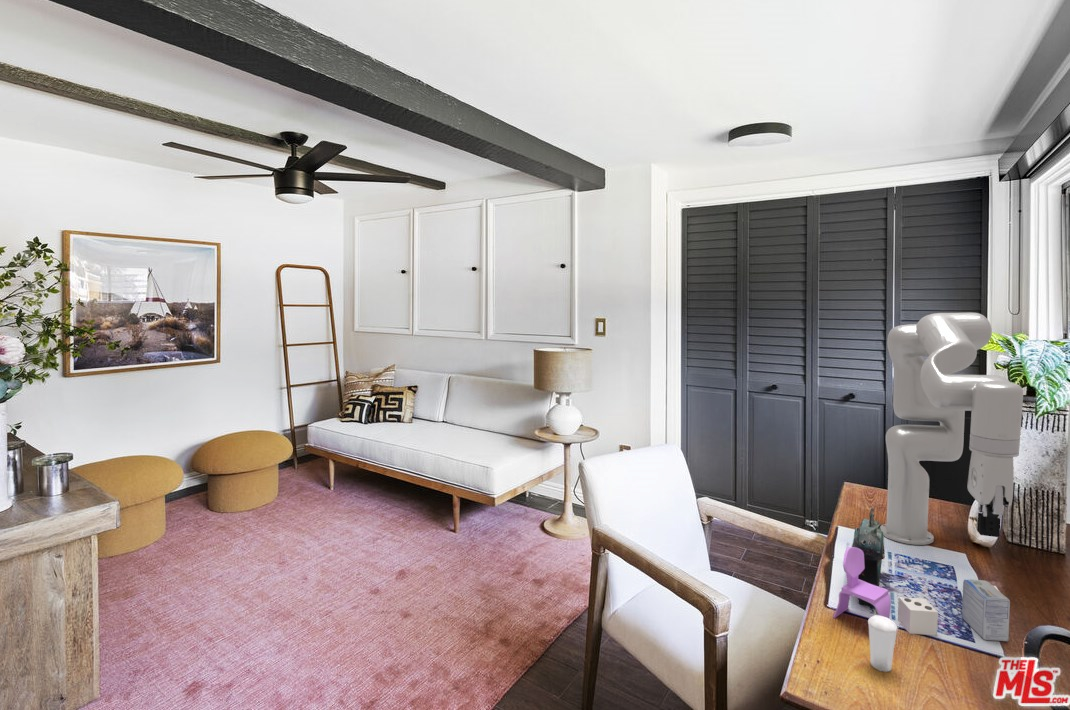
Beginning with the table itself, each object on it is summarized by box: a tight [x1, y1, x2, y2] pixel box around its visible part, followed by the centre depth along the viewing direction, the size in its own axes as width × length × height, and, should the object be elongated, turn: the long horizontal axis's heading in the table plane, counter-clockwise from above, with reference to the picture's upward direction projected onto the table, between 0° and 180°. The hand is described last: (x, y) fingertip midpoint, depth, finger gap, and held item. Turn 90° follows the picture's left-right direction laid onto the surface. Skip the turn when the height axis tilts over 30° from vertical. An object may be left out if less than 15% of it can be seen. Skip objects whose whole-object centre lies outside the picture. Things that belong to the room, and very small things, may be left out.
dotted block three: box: [897, 596, 939, 636], centre depth 113 cm, size 5×5×5 cm
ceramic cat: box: [851, 507, 885, 609], centre depth 128 cm, size 20×6×20 cm, turn 148°
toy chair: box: [832, 546, 892, 619], centre depth 115 cm, size 8×9×15 cm
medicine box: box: [961, 579, 1011, 642], centre depth 112 cm, size 8×4×9 cm, turn 168°
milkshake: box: [867, 614, 902, 673], centre depth 101 cm, size 4×5×10 cm
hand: (988, 534), depth 111 cm, fingers closed
